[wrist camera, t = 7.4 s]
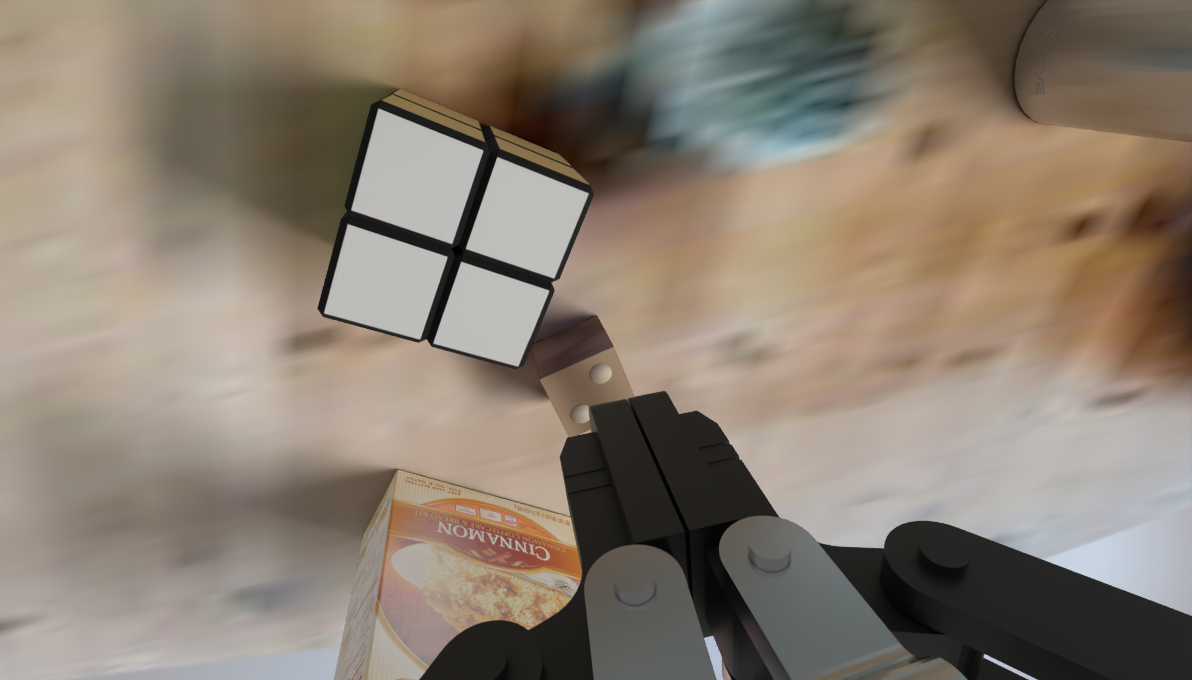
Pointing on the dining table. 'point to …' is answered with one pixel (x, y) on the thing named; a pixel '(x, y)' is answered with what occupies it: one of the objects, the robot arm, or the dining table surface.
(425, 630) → the coffeecake box
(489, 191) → the puzzle cube
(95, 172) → the dining table surface
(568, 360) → the walnut block
